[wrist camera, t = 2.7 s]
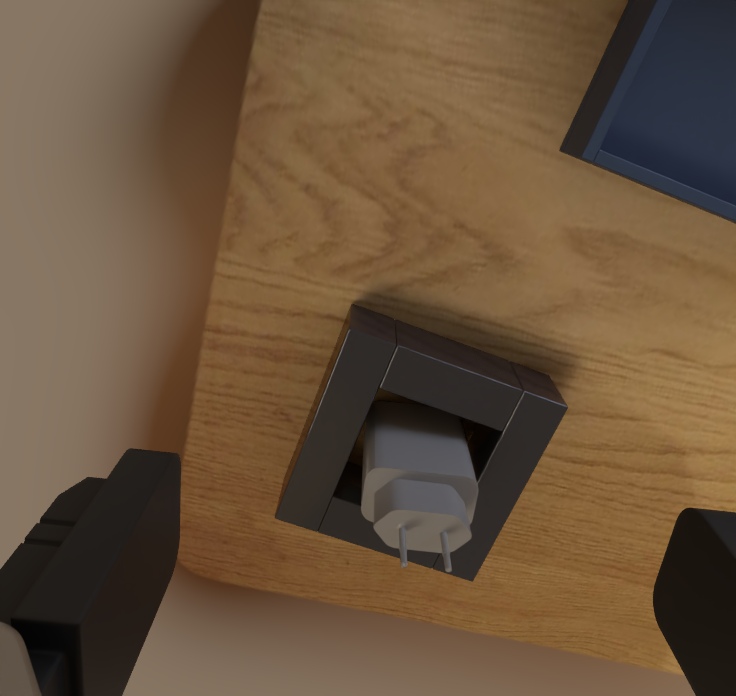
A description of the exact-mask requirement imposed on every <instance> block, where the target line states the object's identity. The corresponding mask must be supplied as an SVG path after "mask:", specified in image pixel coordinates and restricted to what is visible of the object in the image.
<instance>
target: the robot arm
mask: <svg viewBox="0 0 736 696" xmlns="http://www.w3.org/2000/svg"><path fill="white" fill-rule="evenodd" d="M180 487H181V462H180V457H179V455H178V454H177V453H170V452H160V451H150V450H141V449H128V450H127V451H126V452H125V453H124V455H123V456H122V458H121V459H120V461H119V462H118V464H117V465H116V466H115V468H114V469H113V471H112V472H111V474H110V475H109V476H108V478H107V479H102V478H93V477H87V478H86V479H84V480H82V481H81V482H79V483H78V484H76V485H74V486H73V487H71V488H69V489H68V490H66V491H65V492H63V493H61V494H60V495H59V496H58V497H57V498H56V499H55V501H54V502H53V503H52V504H51V506H50V507H49V508H48V510H47V511H46V512H45V513H44V515H43V516H42V517H41V519H40V523H37V524H36V525H35V526H34V527H33V529H32V530H31V531H30V532H29V534H28V535H27V536H26V537H25V541H24V543H21V544H20V545H19V546H18V548H17V549H16V550H15V551H14V553H13V554H12V555H11V557H10V558H9V559H8V560H7V562H6V563H5V564H4V566H3V567H2V568H1V569H0V696H122V694H123V692H124V690H125V687H126V685H127V683H128V680H129V678H130V675H131V673H132V671H133V668H134V666H135V663H136V661H137V658H138V656H139V654H140V651H141V649H142V647H143V644H144V642H145V639H146V637H147V635H148V632H149V630H150V627H151V625H152V623H153V620H154V618H155V615H156V613H157V611H158V608H159V606H160V604H161V601H162V598H163V596H164V594H165V592H166V589H167V587H168V584H169V582H170V580H171V577H172V574H173V571H174V568H175V563H176V560H177V555H178V548H179V540H180ZM653 607H654V613H655V617H656V621H657V623H658V626H659V628H660V630H661V632H662V633H663V635H664V637H665V639H666V641H667V643H668V645H669V646H670V648H671V650H672V652H673V654H674V656H675V658H676V659H677V661H678V663H679V665H680V667H681V669H682V671H683V672H684V674H685V676H686V678H687V680H688V682H689V683H690V685H691V687H692V689H693V691H694V693H695V695H696V696H736V513H735V512H727V511H717V510H707V509H698V508H686V509H684V510H683V511H682V512H681V513H680V515H679V516H678V518H677V521H676V523H675V526H674V529H673V532H672V535H671V538H670V541H669V544H668V547H667V550H666V553H665V556H664V559H663V562H662V564H661V567H660V570H659V573H658V576H657V579H656V582H655V586H654V591H653Z"/></svg>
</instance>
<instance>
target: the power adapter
mask: <svg viewBox="0 0 736 696" xmlns="http://www.w3.org/2000/svg"><path fill="white" fill-rule="evenodd" d="M478 491H479V489H478V485H477V481H476V477H475V473H474V469H473V465H472V461H471V458H470V454H469V450H468V446H467V442H466V438H465V434H464V430H463V426H462V422H461V419H460V416H457V415H454V414H451V413H448V412H445V411H443V410H440V409H437V408H434V407H431V406H423V405H414V404H405V403H397V402H388V401H377V402H374V403H372V404H371V407H370V409H369V411H368V414H367V416H366V424H365V432H364V447H363V472H362V498H361V511H362V514H363V516H364V517H365V518H366V519H367V520H369V521H371V522H374V530H375V531H376V533H377V534H378V535H379V536H380V538H381V539H382V540H383V541H384V542H385V544H387V545H388V546H390V547H393V548H398V549H399V551H400V558H401V566H402V567H403V568H405V567H407V549H408V550H417V551H426V552H436V553H442V554H443V557H444V564H445V570H446V572H451V571H452V567H451V561H450V552H453V551H455V550H456V549H458V548H459V547H461V546H462V545H463V544H465V543H466V542H468V541H469V540H470V539H471V536H472V535H471V530H470V524H471V523H472V520H473V515H474V511H475V506H476V501H477V496H478Z"/></svg>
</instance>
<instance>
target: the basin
mask: <svg viewBox="0 0 736 696" xmlns="http://www.w3.org/2000/svg"><path fill="white" fill-rule="evenodd" d="M560 151H561V152H563V153H565V154H568V155H570V156H573V157H575V158H578V159H580V160H582V161H585V162H587V163H590V164H592V165H595V166H597V167H600V168H602V169H604V170H607V171H609V172H612V173H614V174H617V175H619V176H621V177H624V178H626V179H629V180H631V181H634V182H636V183H638V184H641V185H643V186H646V187H648V188H651V189H653V190H656V191H658V192H660V193H663V194H665V195H668V196H670V197H673V198H675V199H677V200H680V201H682V202H685V203H687V204H690V205H692V206H694V207H697V208H699V209H702V210H704V211H707V212H709V213H711V214H714V215H716V216H719V217H721V218H724V219H726V220H729V221H731V222H733V223H736V0H629V2H628V4H627V6H626V8H625V10H624V12H623V14H622V17H621V19H620V21H619V23H618V25H617V27H616V29H615V32H614V34H613V36H612V38H611V40H610V42H609V44H608V47H607V49H606V51H605V53H604V55H603V57H602V59H601V62H600V64H599V66H598V68H597V70H596V72H595V74H594V77H593V79H592V81H591V83H590V85H589V87H588V89H587V92H586V94H585V96H584V98H583V100H582V102H581V104H580V107H579V109H578V111H577V113H576V115H575V117H574V119H573V122H572V124H571V126H570V128H569V130H568V132H567V134H566V137H565V139H564V141H563V143H562V145H561V147H560Z"/></svg>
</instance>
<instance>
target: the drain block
mask: <svg viewBox="0 0 736 696" xmlns="http://www.w3.org/2000/svg"><path fill="white" fill-rule="evenodd" d="M378 388H380V389H383V390H386V391H389V392H391V393H394V394H397V395H400V396H403V397H406V398H408V399H411V400H414V401H417V402H420V403H423V404H426V405H428V406H431V407H434V408H437V409H440V410H443V411H445V412H448V413H451V414H454V415H457V416H460V417H463V418H465V419H468V420H471V421H474V422H477V423H478V425H477V427H476V429H475V431H474V433H473V435H472V437H471V439H470V441H469V443H468V445H467V446H468V450H469V454H470V458H471V461H472V465H473V469H474V473H475V477H476V481H477V485H478V489H479V491H478V496H477V501H476V506H475V511H474V515H473V520H472V523H471V524H470V530H471V535H472V536H471V539H470V540H469V541H468V542H466V543H465V544H463V545H462V546H461V547H459V548H458V549H456V550H455V551H453V552H450V561H451V567H452V571H451V572H446V570H445V564H444V557H443V554H442V553H436V552H426V551H417V550H408V549H407V561H410V562H413V563H416V564H419V565H422V566H425V567H428V568H433V569H435V570H438V571H441V572H444V573H447V574H450V575H453V576H456V577H460V578H463V579H466V580H469V581H473V580H474V578H475V577H476V575H477V573H478V571H479V569H480V567H481V566H482V564H483V562H484V560H485V558H486V556H487V555H488V553H489V551H490V549H491V547H492V546H493V544H494V542H495V540H496V538H497V536H498V535H499V533H500V531H501V529H502V527H503V525H504V524H505V522H506V520H507V518H508V516H509V514H510V513H511V511H512V509H513V507H514V505H515V504H516V502H517V500H518V498H519V496H520V494H521V493H522V491H523V489H524V487H525V485H526V483H527V482H528V480H529V478H530V476H531V474H532V472H533V471H534V469H535V467H536V465H537V463H538V462H539V460H540V458H541V456H542V454H543V452H544V451H545V449H546V447H547V445H548V443H549V441H550V440H551V438H552V436H553V434H554V432H555V431H556V429H557V427H558V425H559V423H560V421H561V420H562V418H563V416H564V414H565V412H566V410H567V409H568V406H567V404H566V403H565V401H564V399H563V398H562V396H561V394H560V393H559V391H558V389H557V388H556V386H555V384H554V383H553V381H552V380H551V378H550V376H549V375H546V374H544V373H541V372H538V371H535V370H533V369H530V368H527V367H525V366H522V365H519V364H516V363H514V362H511V361H508V360H505V359H503V358H500V357H497V356H495V355H492V354H489V353H486V352H484V351H481V350H478V349H475V348H473V347H470V346H467V345H464V344H462V343H459V342H456V341H454V340H451V339H448V338H445V337H443V336H440V335H437V334H434V333H432V332H429V331H426V330H423V329H421V328H418V327H415V326H413V325H410V324H407V323H404V322H402V321H399V320H394V319H393V318H390V317H388V316H385V315H382V314H380V313H377V312H374V311H371V310H369V309H366V308H363V307H360V306H358V305H355V304H351V306H350V309H349V312H348V314H347V317H346V319H345V322H344V325H343V327H342V330H341V332H340V335H339V337H338V340H337V343H336V345H335V348H334V350H333V353H332V355H331V358H330V361H329V363H328V366H327V368H326V371H325V374H324V376H323V379H322V381H321V384H320V386H319V389H318V392H317V394H316V397H315V399H314V402H313V405H312V407H311V410H310V412H309V415H308V417H307V420H306V423H305V425H304V428H303V430H302V433H301V436H300V438H299V441H298V443H297V446H296V448H295V451H294V454H293V456H292V459H291V461H290V464H289V467H288V469H287V472H286V474H285V477H284V480H283V484H282V489H281V493H280V497H279V501H278V505H277V509H276V513H275V518H276V519H278V520H281V521H285V522H288V523H291V524H294V525H297V526H300V527H303V528H306V529H310V530H313V531H316V532H317V531H318V532H319V533H322V534H325V535H328V536H331V537H335V538H338V539H341V540H344V541H347V542H350V543H353V544H356V545H360V546H363V547H366V548H369V549H372V550H375V551H378V552H381V553H385V554H388V555H391V556H394V557H397V558H400V551H399V549H398V548H393V547H390V546H388V545H387V544H385V542H384V541H383V540H382V539H381V538H380V536H379V535H378V534H377V533H376V531H375V530H374V522H371V521H369V520H367V519H366V518H365V517H364V516H363V514H362V511H361V498H362V472H363V467H361V466H358V465H355V464H352V463H349V462H347V461H348V459H349V456H350V454H351V452H352V449H353V447H354V444H355V442H356V440H357V437H358V435H359V433H360V430H361V428H362V426H363V423H364V421H365V419H366V416H367V414H368V411H369V409H370V407H371V404H372V402H373V400H374V397H375V395H376V393H377V390H378ZM400 559H401V558H400Z"/></svg>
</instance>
